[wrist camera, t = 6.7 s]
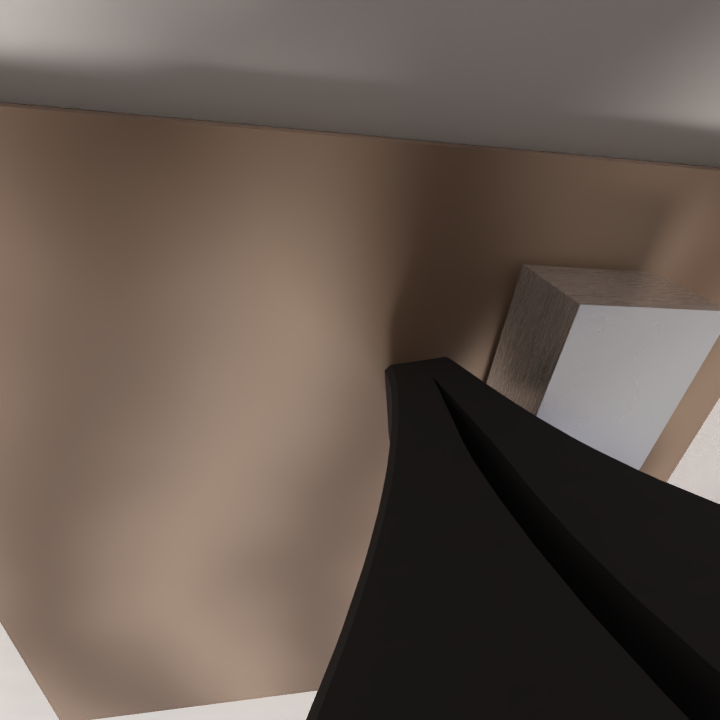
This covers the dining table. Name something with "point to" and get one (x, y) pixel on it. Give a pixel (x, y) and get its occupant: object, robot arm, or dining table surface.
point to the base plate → (258, 371)
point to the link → (603, 353)
